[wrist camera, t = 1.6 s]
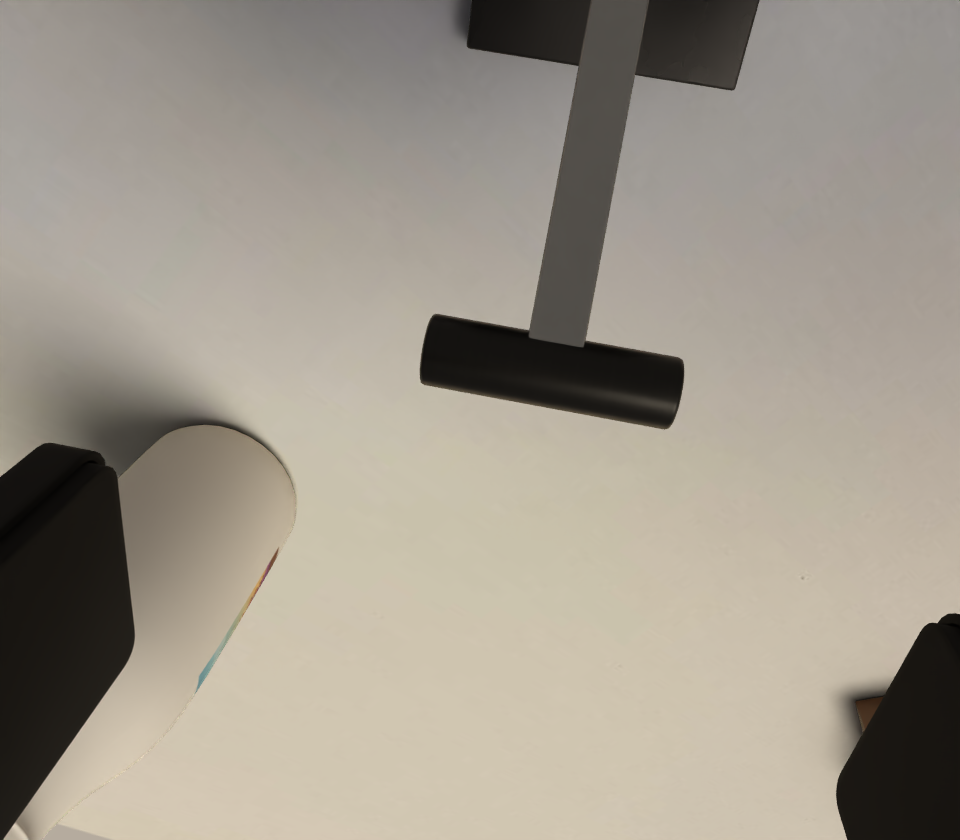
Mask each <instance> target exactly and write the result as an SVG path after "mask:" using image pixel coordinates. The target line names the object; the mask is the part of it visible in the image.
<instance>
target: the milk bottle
mask: <svg viewBox="0 0 960 840" xmlns="http://www.w3.org/2000/svg"><path fill="white" fill-rule="evenodd" d="M118 487H119V496H120V505H121V514H122V522H123V531H124V540H125V549H126V558H127V566H128V575H129V584H130V593H131V602H132V610H133V619H134V628H135V641H134V647H133V650H132V653H131V656H130V658H129V660H128V662H127V664H126V665H125V667H124V668H123V670H122V671H121V673H120V674H119V676H118V677H117V678H116V680H115V681H114V683H113V684H112V685H111V687H110V688H109V690H108V691H107V693H106V694H105V695H104V697H103V698H102V700H101V701H100V703H99V704H98V705H97V707H96V708H95V710H94V711H93V712H92V714H91V715H90V717H89V718H88V720H87V721H86V722H85V724H84V725H83V727H82V728H81V730H80V731H79V732H78V734H77V735H76V737H75V738H74V740H73V741H72V742H71V744H70V745H69V747H68V748H67V749H66V751H65V752H64V754H63V755H62V757H61V758H60V759H59V761H58V762H57V764H56V765H55V767H54V768H53V769H52V771H51V772H50V774H49V775H48V777H47V778H46V779H45V781H44V782H43V784H42V785H41V786H40V788H39V789H38V791H37V792H36V794H35V795H34V796H33V798H32V799H31V801H30V802H29V804H28V805H27V806H26V808H25V809H24V811H23V812H22V813H21V815H20V816H19V818H18V819H17V821H16V822H15V823H14V825H13V826H12V828H11V829H10V831H9V832H8V833H7V835H6V836H5V838H4V839H3V840H42V839H43V838H44V837H45V835H46V834H47V833H48V832H49V831H50V830H51V829H52V828H53V827H54V826H55V825H56V824H57V823H58V822H59V821H60V820H61V819H62V818H64V817H65V816H66V815H67V814H68V813H69V812H70V811H71V810H72V809H73V808H75V807H76V806H77V805H78V804H79V803H80V802H82V801H83V800H84V799H86V798H87V797H88V796H90V795H91V794H92V793H94V792H95V791H96V790H98V789H99V788H101V787H102V786H104V785H105V784H107V783H108V782H109V781H111V780H112V779H114V778H115V777H117V776H118V775H120V774H121V773H123V772H124V771H125V770H127V769H128V768H129V767H131V766H132V765H133V764H135V763H136V762H137V761H138V760H140V759H141V758H142V757H143V756H144V755H145V754H146V753H148V752H149V751H150V750H151V749H152V748H153V747H154V746H155V745H156V744H157V743H158V742H159V741H160V740H161V739H162V738H163V737H164V736H165V734H166V733H167V732H168V731H169V730H170V729H171V727H172V726H173V725H174V723H175V722H176V721H177V720H178V718H179V717H180V716H181V715H182V713H183V712H184V710H185V709H186V707H187V706H188V704H189V702H190V701H191V699H192V698H193V696H194V695H195V693H196V692H197V690H198V689H199V687H200V685H201V684H202V682H203V681H204V679H205V678H206V676H207V675H208V673H209V671H210V670H211V668H212V666H213V665H214V663H215V661H216V660H217V658H218V656H219V655H220V653H221V651H222V650H223V648H224V646H225V645H226V643H227V641H228V640H229V638H230V636H231V635H232V633H233V631H234V630H235V628H236V626H237V625H238V623H239V621H240V620H241V618H242V616H243V615H244V613H245V611H246V610H247V608H248V606H249V604H250V603H251V601H252V599H253V598H254V596H255V594H256V592H257V591H258V589H259V587H260V586H261V584H262V582H263V581H264V579H265V577H266V575H267V574H268V572H269V570H270V569H271V567H272V565H273V563H274V562H275V560H276V558H277V556H278V555H279V553H280V551H281V550H282V548H283V546H284V544H285V542H286V540H287V538H288V537H289V535H290V533H291V531H292V528H293V526H294V523H295V518H296V500H295V492H294V489H293V486H292V483H291V480H290V478H289V476H288V475H287V473H286V471H285V469H284V467H283V466H282V465H281V464H280V462H279V461H278V460H277V459H276V457H275V456H274V455H273V454H272V453H271V452H269V451H268V450H267V449H266V448H265V447H264V446H263V445H261V444H260V443H258V442H257V441H255V440H253V439H252V438H250V437H249V436H247V435H244V434H242V433H240V432H238V431H235V430H232V429H228V428H224V427H221V426H211V425H199V426H189V427H184V428H180V429H177V430H174V431H172V432H170V433H168V434H166V435H164V436H163V437H162V438H160V439H159V440H158V441H157V442H156V443H155V444H154V445H152V446H151V447H150V448H149V449H148V450H147V451H146V452H145V453H144V454H143V455H142V456H141V457H140V458H138V459H137V460H136V461H135V462H134V463H133V464H132V465H131V466H130V467H129V468H128V469H127V470H126V471H125V472H124V473H123V474H122V475H121V476H120V477H119V478H118Z"/></svg>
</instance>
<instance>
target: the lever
mask: <svg viewBox="0 0 960 840" xmlns="http://www.w3.org/2000/svg"><path fill="white" fill-rule="evenodd" d="M648 2H649V0H591V3H590V9H589V14H588V19H587V25H586V30H585V35H584V41H583V46H582V51H581V57H580V62H579V67H578V73H577V78H576V83H575V89H574V94H573V99H572V105H571V110H570V115H569V121H568V126H567V131H566V137H565V142H564V147H563V153H562V158H561V163H560V169H559V174H558V179H557V185H556V190H555V195H554V201H553V206H552V211H551V217H550V222H549V227H548V233H547V238H546V243H545V249H544V254H543V259H542V265H541V270H540V275H539V281H538V286H537V291H536V297H535V302H534V307H533V313H532V318H531V323H530V329H529V330H524V329H518V328H513V327H507V326H502V325H496V324H490V323H485V322H479V321H474V320H468V319H463V318H457V317H452V316H446V315H440V314H435V315H433V316H432V317H431V319H430V321H429V323H428V326H427V330H426V334H425V338H424V343H423V348H422V354H421V362H420V380H421V383H422V384H424V385H428V386H433V387H438V388H444V389H449V390H455V391H460V392H465V393H471V394H476V395H482V396H487V397H492V398H498V399H503V400H509V401H514V402H519V403H525V404H530V405H535V406H541V407H546V408H552V409H557V410H562V411H568V412H573V413H579V414H584V415H589V416H595V417H600V418H606V419H611V420H616V421H622V422H627V423H633V424H638V425H643V426H649V427H654V428H660V429H668V428H669V427H670V426H671V425H672V423H673V421H674V419H675V417H676V414H677V411H678V407H679V404H680V400H681V395H682V390H683V383H684V364H683V360H682V359H680V358H679V357H674V356H668V355H662V354H657V353H651V352H646V351H640V350H635V349H629V348H624V347H618V346H613V345H607V344H601V343H596V342H590V341H585V340H586V335H587V329H588V324H589V319H590V313H591V308H592V302H593V297H594V292H595V286H596V281H597V276H598V270H599V265H600V260H601V254H602V249H603V243H604V238H605V233H606V227H607V222H608V217H609V211H610V206H611V201H612V195H613V190H614V184H615V179H616V174H617V168H618V163H619V158H620V152H621V147H622V142H623V136H624V131H625V125H626V120H627V115H628V109H629V104H630V99H631V93H632V88H633V83H634V77H635V72H636V66H637V61H638V56H639V50H640V45H641V40H642V34H643V29H644V23H645V18H646V13H647V7H648Z"/></svg>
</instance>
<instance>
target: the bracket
mask: <svg viewBox="0 0 960 840" xmlns="http://www.w3.org/2000/svg"><path fill="white" fill-rule="evenodd" d="M590 3H591V0H472V4H471V12H470V21H469V30H468V39H467V47H468V48H470V49H476V50H483V51H489V52H495V53H501V54H507V55H514V56H520V57H526V58H532V59H539V60H545V61H551V62H557V63H563V64H570V65H576V66H579V62H580V57H581V51H582V46H583V41H584V35H585V30H586V25H587V19H588V14H589V9H590ZM758 4H759V0H649V2H648V7H647V13H646V18H645V23H644V29H643V34H642V40H641V45H640V50H639V56H638V61H637V66H636V72H635V75H638V76H644V77H650V78H657V79H663V80H669V81H675V82H682V83H688V84H694V85H700V86H706V87H713V88H719V89H725V90H731V91H732V90H734V89H735V87H736V84H737V80H738V76H739V73H740V69H741V66H742V62H743V58H744V55H745V51H746V47H747V44H748V40H749V37H750V33H751V29H752V26H753V22H754V18H755V15H756V11H757V8H758Z"/></svg>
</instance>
